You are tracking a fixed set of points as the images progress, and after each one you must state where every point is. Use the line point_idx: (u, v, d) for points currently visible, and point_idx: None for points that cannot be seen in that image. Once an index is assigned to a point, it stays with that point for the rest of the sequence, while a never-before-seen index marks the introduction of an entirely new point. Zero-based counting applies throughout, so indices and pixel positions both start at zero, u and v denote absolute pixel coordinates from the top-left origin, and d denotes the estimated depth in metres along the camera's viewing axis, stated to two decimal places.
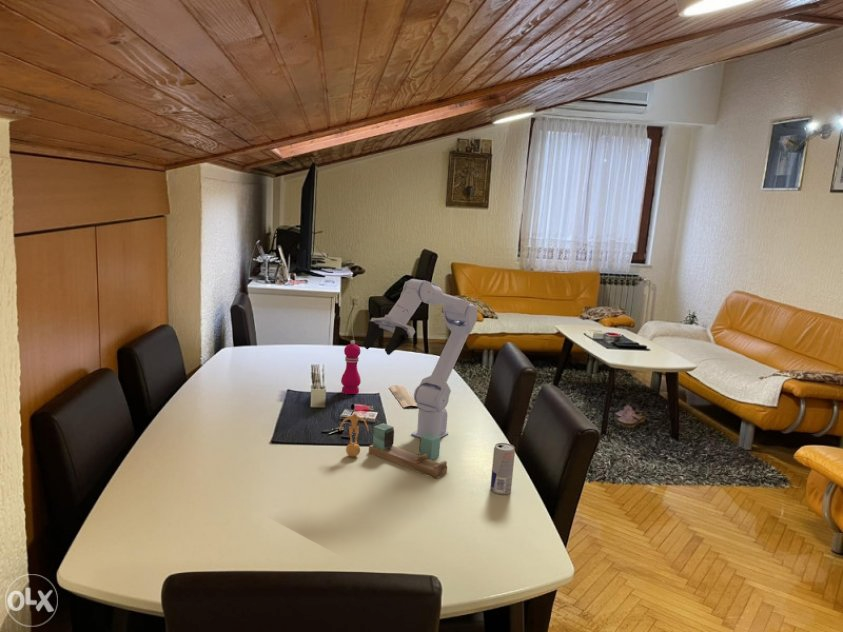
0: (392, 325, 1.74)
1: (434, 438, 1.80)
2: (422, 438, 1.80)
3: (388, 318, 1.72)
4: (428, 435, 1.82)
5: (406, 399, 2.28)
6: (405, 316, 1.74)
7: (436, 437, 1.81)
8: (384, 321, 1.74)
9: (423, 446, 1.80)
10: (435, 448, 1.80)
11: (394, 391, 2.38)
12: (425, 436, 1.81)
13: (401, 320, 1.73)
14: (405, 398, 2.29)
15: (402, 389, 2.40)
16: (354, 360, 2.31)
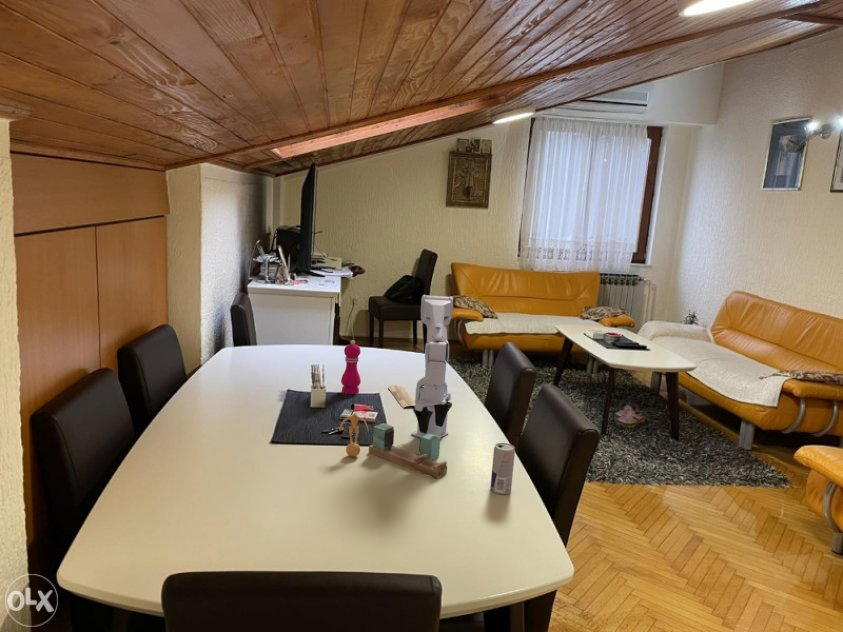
0: None
1: (434, 438, 1.80)
2: (422, 438, 1.80)
3: None
4: (428, 435, 1.82)
5: (405, 399, 2.28)
6: None
7: (436, 437, 1.81)
8: None
9: (423, 446, 1.80)
10: (435, 448, 1.80)
11: (393, 391, 2.38)
12: (425, 436, 1.81)
13: None
14: (404, 398, 2.29)
15: (401, 389, 2.40)
16: (354, 360, 2.31)
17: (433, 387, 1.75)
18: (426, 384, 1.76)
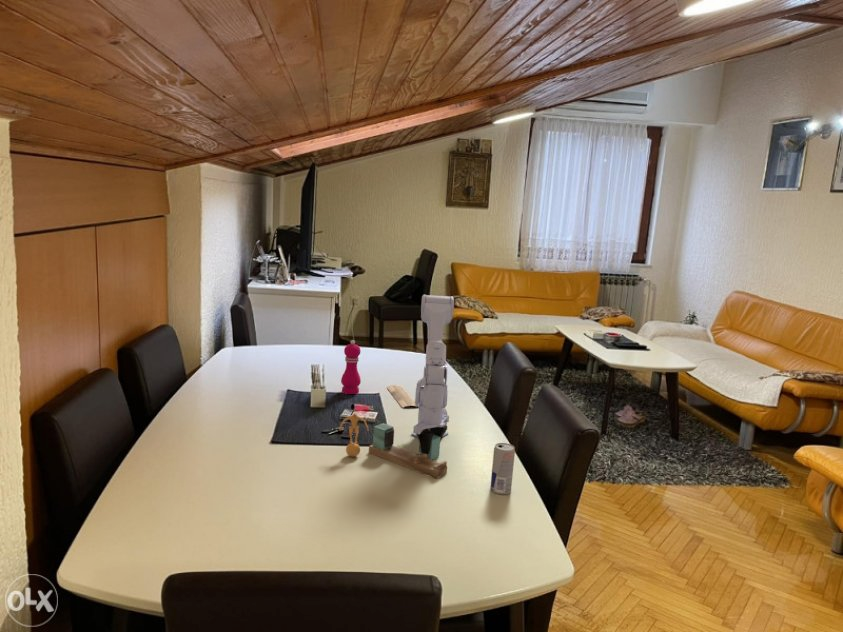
0: None
1: (434, 438, 1.80)
2: None
3: None
4: None
5: (405, 399, 2.28)
6: None
7: (436, 437, 1.81)
8: None
9: None
10: (435, 448, 1.80)
11: (392, 391, 2.38)
12: None
13: None
14: (403, 398, 2.29)
15: (400, 389, 2.40)
16: (354, 360, 2.31)
17: (431, 410, 1.76)
18: (424, 407, 1.77)
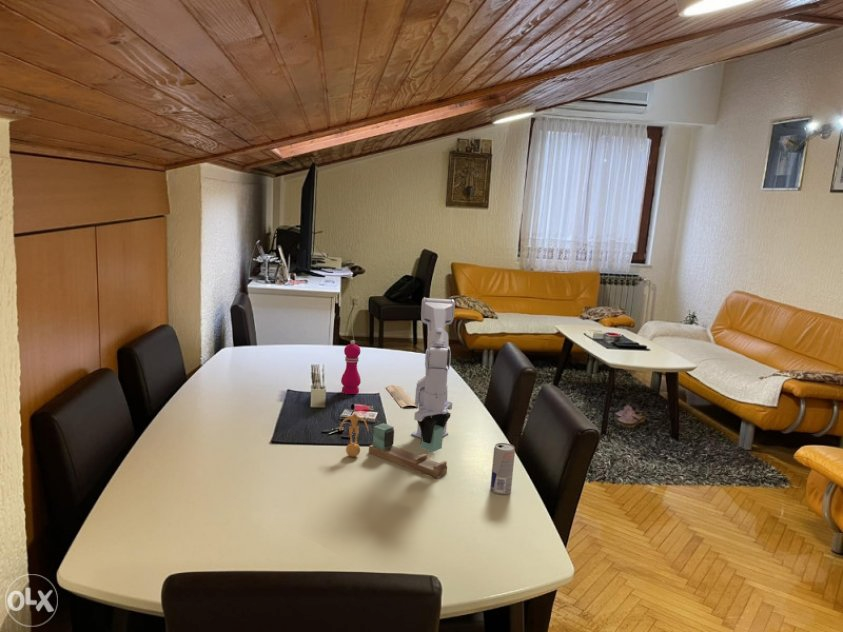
0: None
1: (436, 428, 1.69)
2: None
3: None
4: None
5: (404, 399, 2.28)
6: None
7: (438, 427, 1.69)
8: None
9: None
10: (437, 439, 1.69)
11: (391, 391, 2.37)
12: None
13: None
14: (403, 398, 2.29)
15: (399, 389, 2.40)
16: (354, 360, 2.31)
17: (434, 396, 1.65)
18: (426, 392, 1.66)
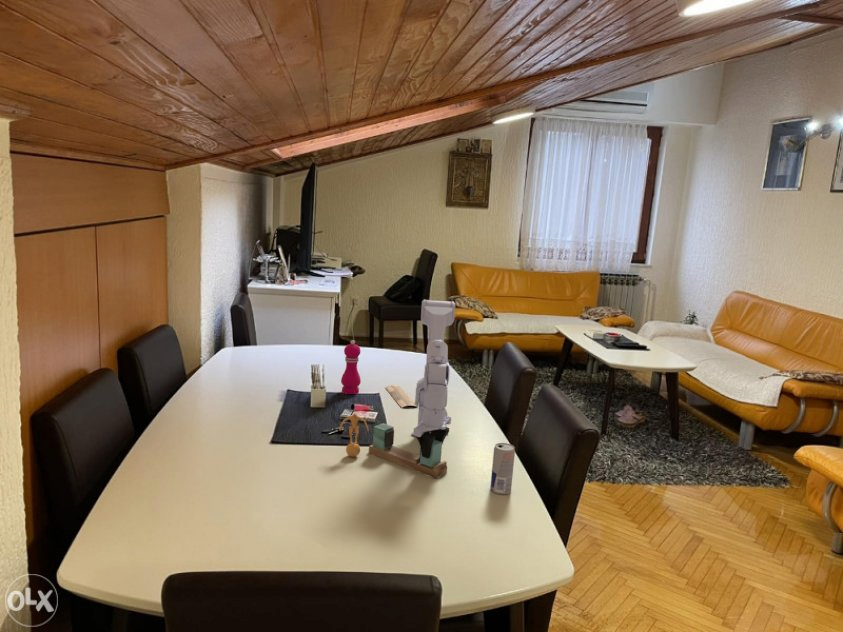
0: None
1: (435, 443, 1.69)
2: None
3: None
4: None
5: (403, 399, 2.28)
6: None
7: (437, 442, 1.70)
8: None
9: None
10: (436, 454, 1.70)
11: (391, 391, 2.37)
12: None
13: None
14: (402, 398, 2.29)
15: (399, 389, 2.40)
16: (354, 360, 2.31)
17: (433, 411, 1.66)
18: (425, 408, 1.67)
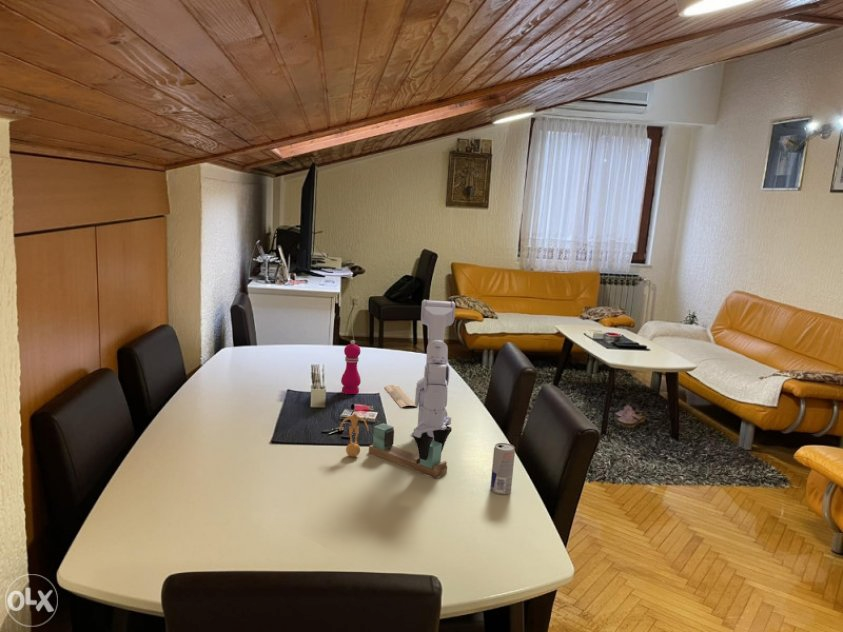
0: None
1: (435, 445, 1.69)
2: None
3: None
4: None
5: (403, 399, 2.28)
6: None
7: (437, 444, 1.70)
8: None
9: None
10: (436, 455, 1.70)
11: (390, 391, 2.37)
12: None
13: None
14: (402, 398, 2.29)
15: (398, 389, 2.40)
16: (354, 360, 2.31)
17: (432, 412, 1.66)
18: (425, 408, 1.67)
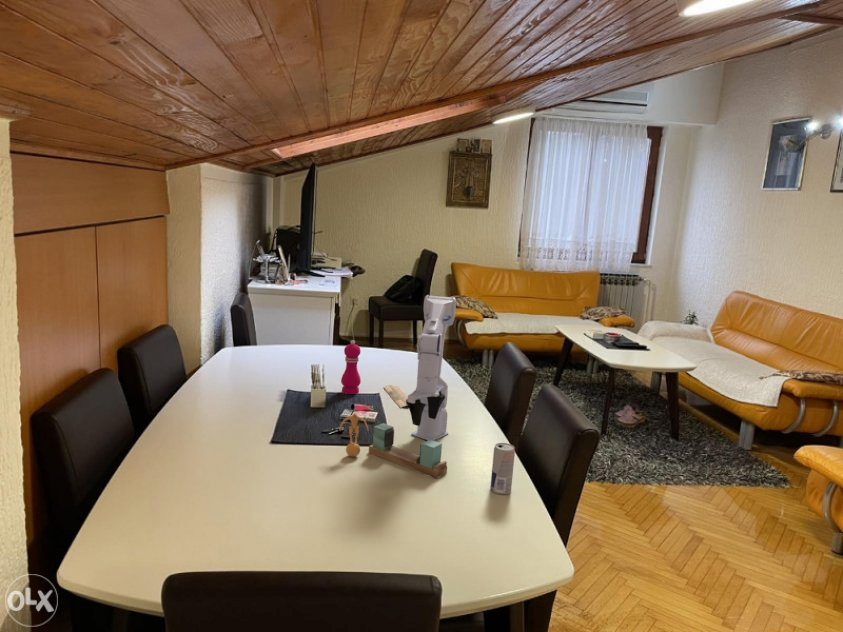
0: None
1: (435, 445, 1.69)
2: (422, 445, 1.70)
3: None
4: (429, 441, 1.72)
5: (402, 399, 2.28)
6: None
7: (437, 444, 1.70)
8: None
9: (423, 453, 1.70)
10: (436, 455, 1.70)
11: (389, 391, 2.37)
12: (426, 443, 1.70)
13: None
14: (401, 398, 2.29)
15: (397, 389, 2.40)
16: (354, 360, 2.31)
17: (426, 379, 1.75)
18: (419, 376, 1.76)
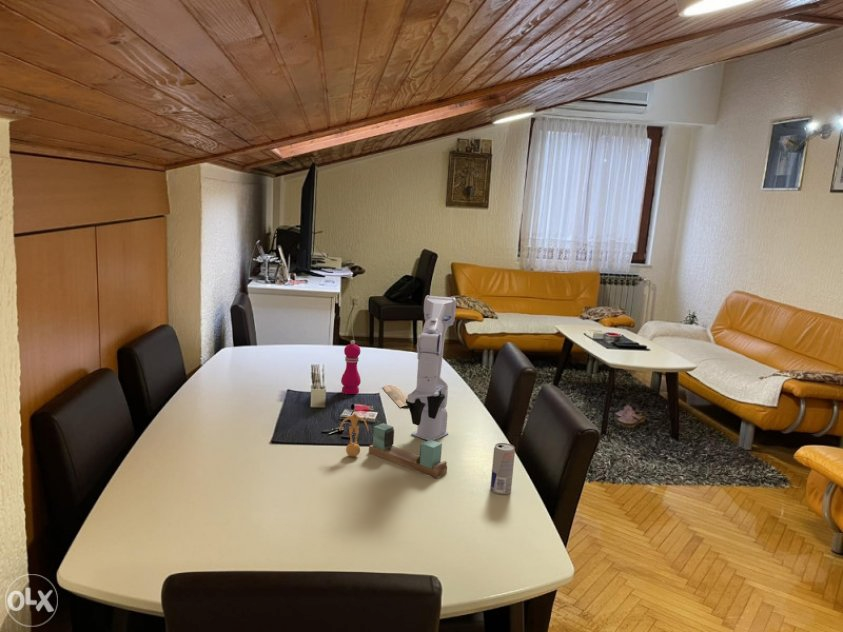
0: None
1: (435, 445, 1.69)
2: (422, 445, 1.70)
3: None
4: (429, 441, 1.72)
5: (401, 399, 2.28)
6: None
7: (437, 444, 1.70)
8: None
9: (423, 453, 1.70)
10: (436, 455, 1.70)
11: (388, 391, 2.37)
12: (426, 443, 1.70)
13: None
14: (400, 398, 2.29)
15: (396, 389, 2.40)
16: (354, 360, 2.31)
17: (426, 379, 1.75)
18: (419, 376, 1.76)
